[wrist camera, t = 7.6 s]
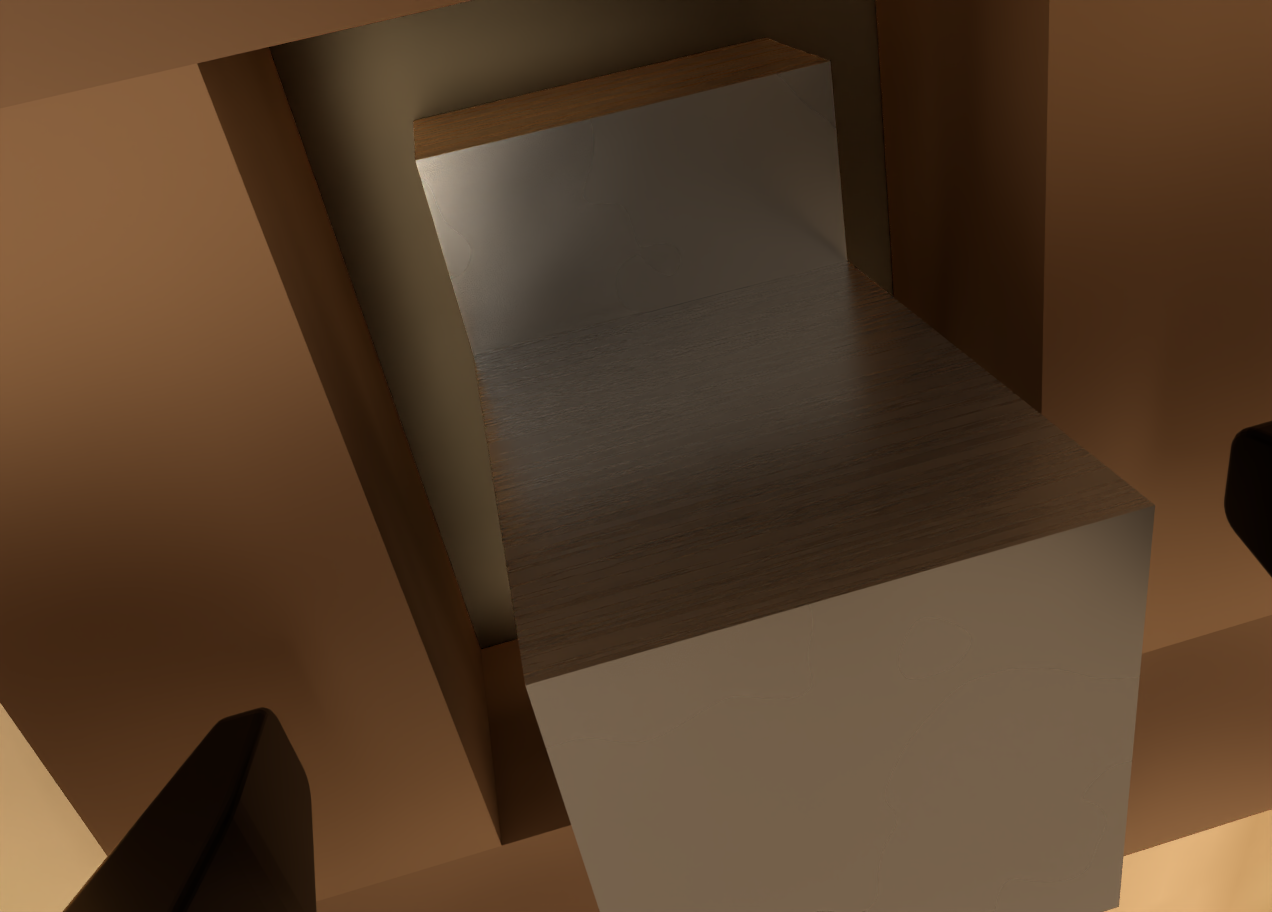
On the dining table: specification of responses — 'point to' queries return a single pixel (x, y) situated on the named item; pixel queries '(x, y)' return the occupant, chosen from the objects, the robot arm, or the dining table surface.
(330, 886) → the well block
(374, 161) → the dining table surface
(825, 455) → the bracket
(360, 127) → the dining table surface
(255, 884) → the robot arm
